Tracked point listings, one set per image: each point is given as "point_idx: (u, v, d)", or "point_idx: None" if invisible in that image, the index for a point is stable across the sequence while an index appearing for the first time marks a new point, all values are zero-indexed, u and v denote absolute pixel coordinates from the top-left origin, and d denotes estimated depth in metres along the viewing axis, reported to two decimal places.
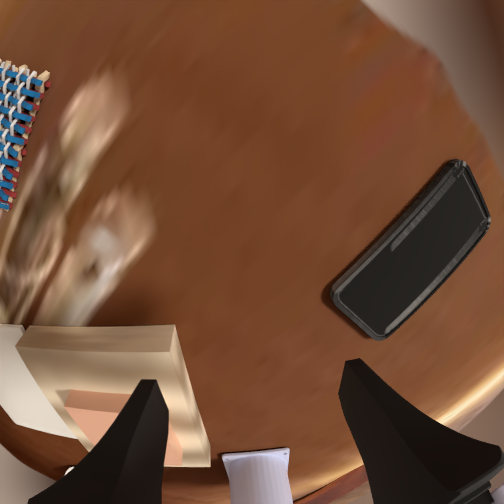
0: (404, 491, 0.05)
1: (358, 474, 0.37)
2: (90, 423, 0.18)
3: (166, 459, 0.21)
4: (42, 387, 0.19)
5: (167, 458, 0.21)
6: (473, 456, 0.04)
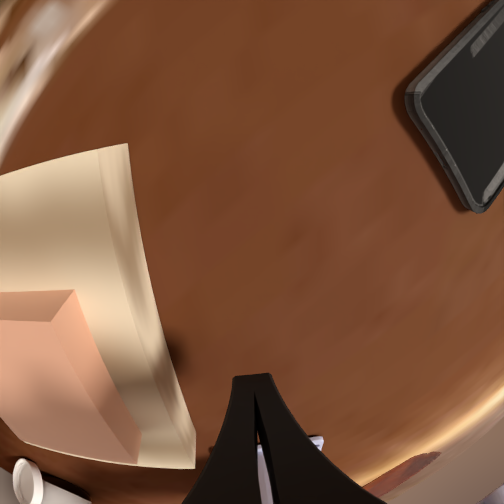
0: None
1: (400, 472, 0.26)
2: None
3: (105, 449, 0.10)
4: None
5: (107, 447, 0.10)
6: None
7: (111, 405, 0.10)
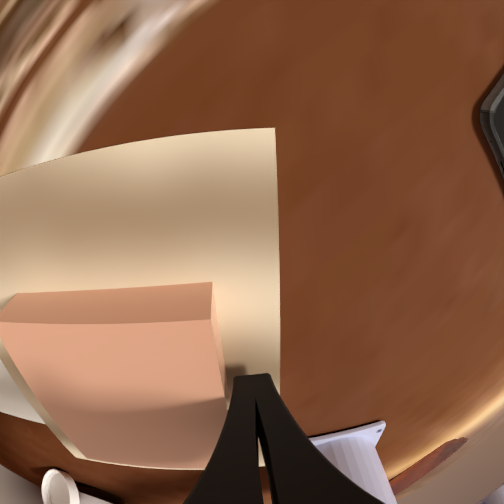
0: None
1: (433, 458, 0.26)
2: (45, 368, 0.08)
3: (210, 456, 0.10)
4: None
5: None
6: None
7: None
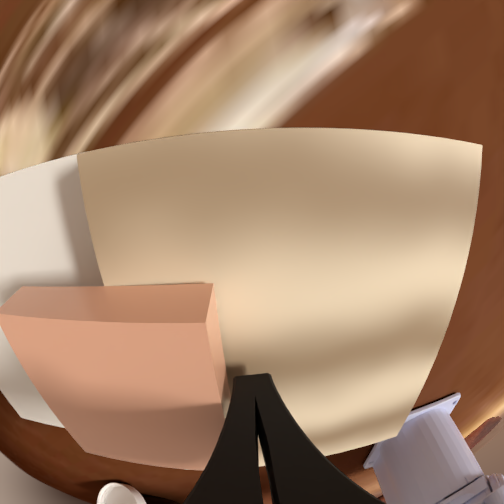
0: None
1: (474, 437, 0.27)
2: (45, 361, 0.08)
3: (207, 459, 0.10)
4: None
5: (210, 456, 0.10)
6: None
7: None
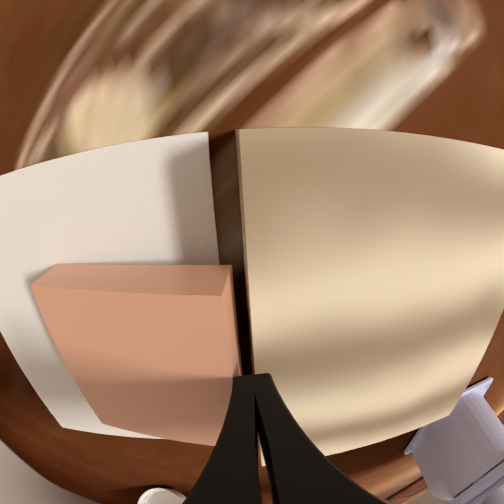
0: None
1: None
2: (74, 331, 0.10)
3: (216, 433, 0.12)
4: (262, 286, 0.10)
5: (219, 431, 0.12)
6: None
7: None
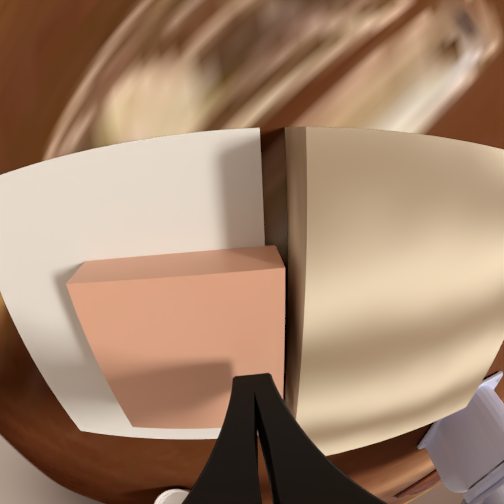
0: None
1: None
2: (119, 326, 0.10)
3: None
4: (318, 280, 0.10)
5: None
6: None
7: None
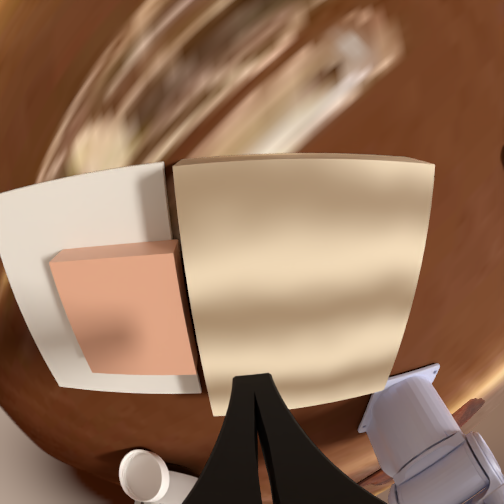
0: None
1: (459, 417, 0.33)
2: (79, 290, 0.16)
3: (176, 360, 0.18)
4: (192, 261, 0.15)
5: (178, 358, 0.18)
6: None
7: (188, 321, 0.18)
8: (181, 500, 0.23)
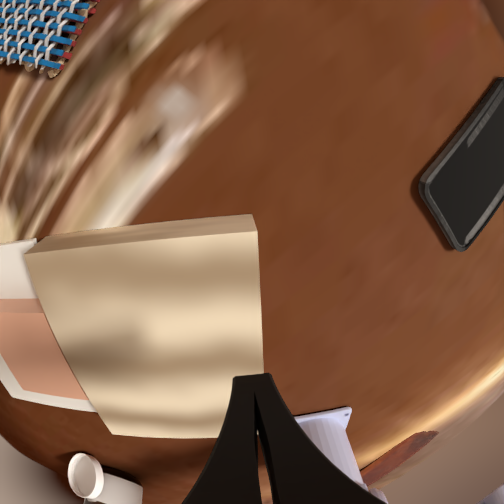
0: None
1: (405, 448, 0.33)
2: None
3: (71, 388, 0.19)
4: (52, 321, 0.16)
5: (71, 386, 0.19)
6: None
7: None
8: (114, 500, 0.24)
